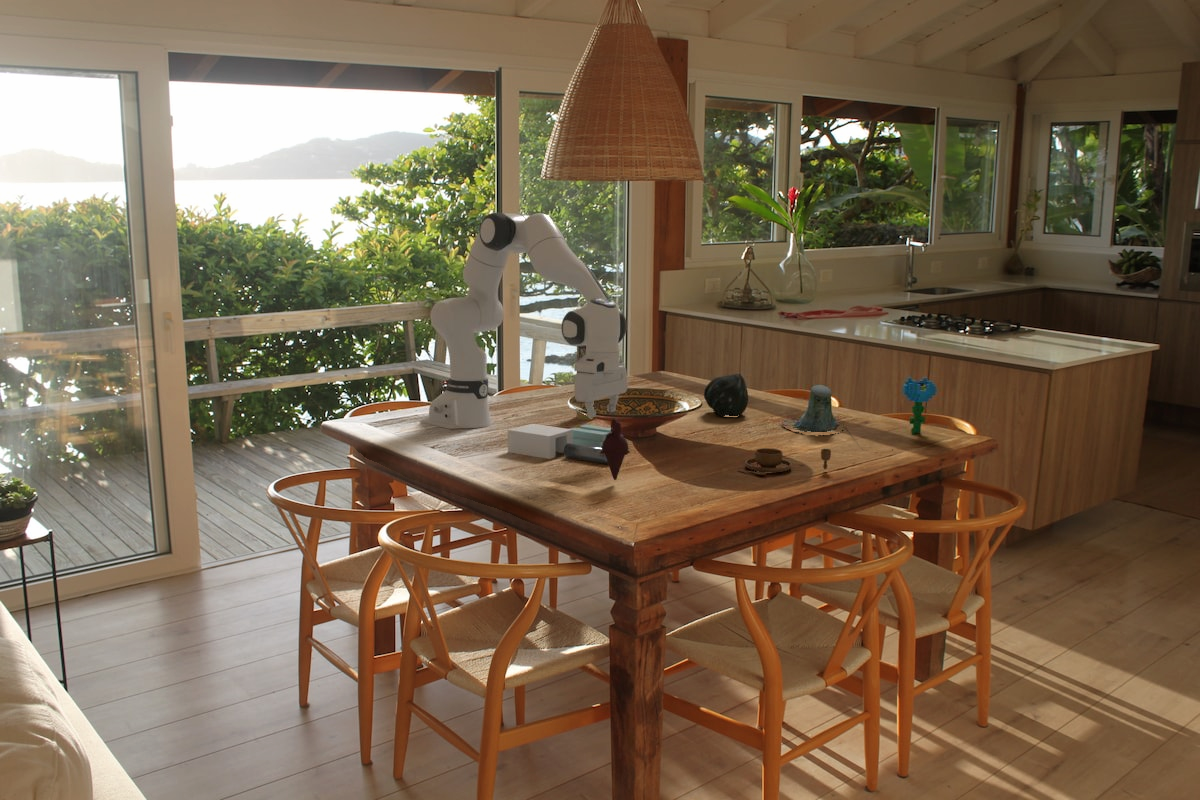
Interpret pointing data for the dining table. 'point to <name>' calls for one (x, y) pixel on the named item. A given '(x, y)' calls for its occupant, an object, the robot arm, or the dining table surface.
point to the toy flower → (918, 399)
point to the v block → (590, 435)
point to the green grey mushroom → (817, 412)
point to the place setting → (776, 460)
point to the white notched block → (538, 440)
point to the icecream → (615, 448)
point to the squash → (727, 395)
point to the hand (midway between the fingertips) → (601, 414)
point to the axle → (584, 453)
